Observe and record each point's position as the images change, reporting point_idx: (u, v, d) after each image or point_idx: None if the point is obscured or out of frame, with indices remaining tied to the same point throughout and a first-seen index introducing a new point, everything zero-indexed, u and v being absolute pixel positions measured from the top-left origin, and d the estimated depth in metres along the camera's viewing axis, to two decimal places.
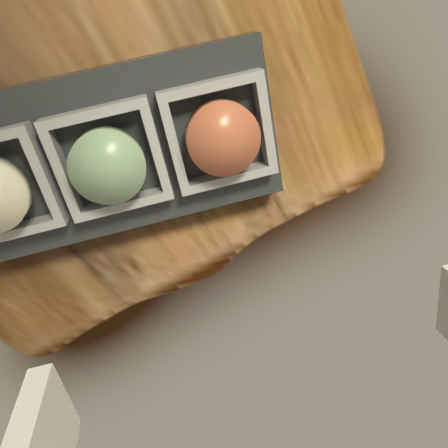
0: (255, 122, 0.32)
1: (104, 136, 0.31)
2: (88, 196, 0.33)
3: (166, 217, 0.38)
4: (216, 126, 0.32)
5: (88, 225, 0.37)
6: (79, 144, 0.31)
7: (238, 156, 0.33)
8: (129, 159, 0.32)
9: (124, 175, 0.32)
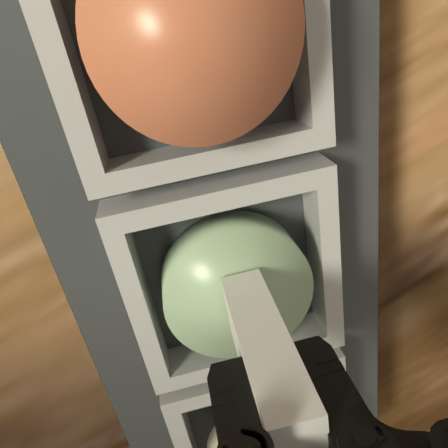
0: None
1: (174, 302, 0.15)
2: (289, 328, 0.17)
3: (372, 168, 0.17)
4: (151, 60, 0.11)
5: (351, 306, 0.20)
6: (188, 340, 0.16)
7: None
8: (223, 260, 0.15)
9: None
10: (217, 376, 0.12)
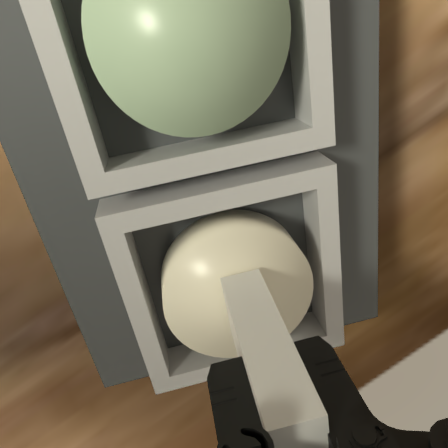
0: None
1: (98, 27, 0.11)
2: (259, 95, 0.13)
3: None
4: None
5: (345, 113, 0.16)
6: (122, 97, 0.12)
7: None
8: None
9: None
10: (217, 376, 0.12)
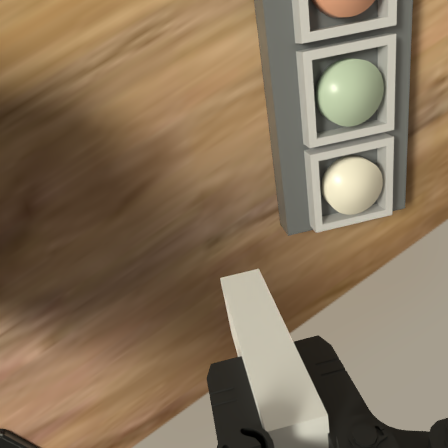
0: None
1: (327, 92, 0.37)
2: (371, 112, 0.39)
3: (408, 43, 0.39)
4: None
5: (395, 118, 0.42)
6: (329, 113, 0.38)
7: None
8: (349, 73, 0.37)
9: (361, 79, 0.37)
10: (217, 376, 0.12)
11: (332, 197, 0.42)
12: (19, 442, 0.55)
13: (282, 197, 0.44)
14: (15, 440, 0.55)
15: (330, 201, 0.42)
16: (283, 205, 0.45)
